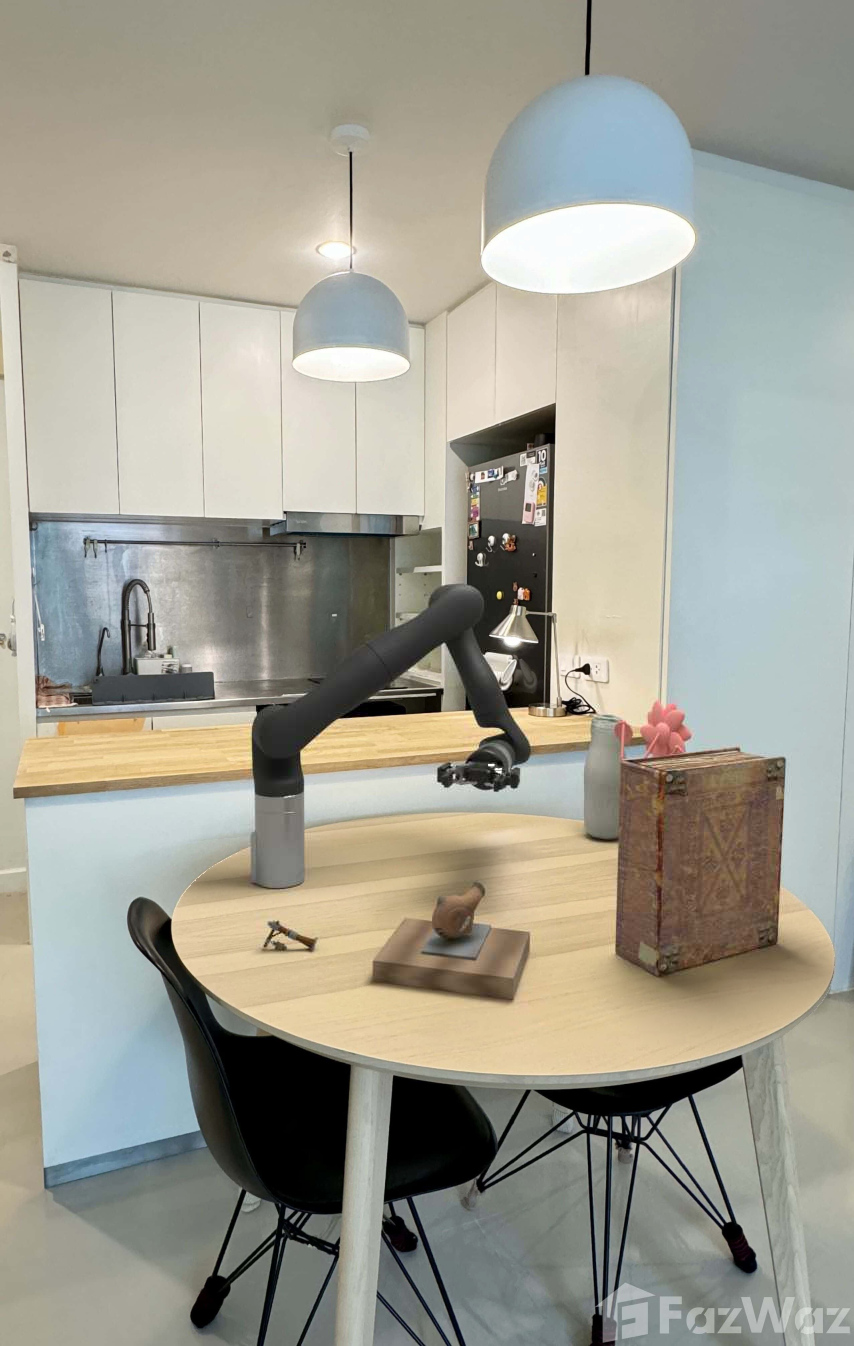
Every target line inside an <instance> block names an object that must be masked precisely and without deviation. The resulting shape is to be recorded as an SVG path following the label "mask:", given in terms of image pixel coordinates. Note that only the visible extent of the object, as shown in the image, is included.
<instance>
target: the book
mask: <svg viewBox="0 0 854 1346" xmlns="http://www.w3.org/2000/svg"><path fill="white" fill-rule="evenodd" d="M786 764H787V758H786V757H784V756H775V757H773V756H772V757H765V756H762V755H756V754H752V753H747V752H742V751H741V748H740V747H738V746H734V747H727V748H726V747H725V748H717V749H707V750H701V751H699V750H698V751H693V752H692V751H691V752H686V753H682V754H673V755H665V756H657V757H653V756H648V757H647V758H643V757H642V758H633V759H632V758H631V759H629V760H623V761H622V762H621V771H620V805H619V837H618V841H617V842H618V843H617V844H618V845H617V877H616V884H617V885H616V909H615V911H616V913H615V915H616V916H615V917H616V919H615V944H614V945H615V947H614V948H615V949H614V950H615V951H614V952H615V953H616V954H618V955H619V956H621V957H623V958H625V959H627V960H628V961H630V962H632V963H634V964H635V965H637V966H639V967H641V969H644V970H646V971H648V972H649V973H651V974H652V975H654V976H657V977H658V978H660V977H663V976H664V977H665V976H668V975H671V974H674V973H678V972H683V971H685V970H689V969H693V968H696V967H699V966H704V965H707V964H711V963H715V962H718V961H722V960H725V959H729V958H732V957H735V955H736V956H739V954H740V955H742V953H743V954H746V952H747V953H749V951H751V952H754V951H757V950H756V949H758V950H761V949H765V948H769V947H772V946H775V945H777V943H778V941H779V920H780V919H779V917H780V901H781V900H780V896H781V876H782V875H781V874H782V873H781V872H782V853H783V852H782V851H783V834H784V832H783V831H784V828H783V827H784V813H785V812H784V807H785V806H784V805H785V786H786ZM768 946H769V947H768ZM753 950H754V951H753Z"/></svg>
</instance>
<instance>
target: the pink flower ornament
mask: <svg viewBox="0 0 854 1346" xmlns="http://www.w3.org/2000/svg"><path fill="white" fill-rule="evenodd" d="M646 716H647V724H645V725H642V726H641V727H640V729H639V734H640V736H641V737H642V738H643V740H644V741H646V747H645V750H646V753H645V754H644V756H643V757H642V758H648V757H649V755H652V757H657V756H665V755H673V754H682V753H687V752H686V744H685V742H687V741H689V740H690V739H691V738H692V732H691V731H690V729H689V727H687V725H685V724H683V722H684V720H685V718H686V715H685V712H683V710H680V709H678V708H677V704H676V702H671V703H668V704H667V705H666V706H665V707H663V704H662V702H661V701H660V700H659V699H655V701H654V702H653V705H652V708H651V710H649V711H648V712H647V715H646ZM614 732H615V735H616V737H617V738H618V740H619V741H620V742H621V761H623V760H630V759H628V758H627V759H623V754H624V751H625V744H627V743H629V742H630V741H631V740H632V738H633V736H634V731H633V729H632V727H631V725H630V724H629V723H628V722H627V721H626V720H625V719H622V721H620V722H618V723H617V724H616V725H615V728H614Z"/></svg>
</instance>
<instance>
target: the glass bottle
mask: <svg viewBox="0 0 854 1346" xmlns="http://www.w3.org/2000/svg"><path fill="white" fill-rule="evenodd" d="M622 720H623V719H622V718H620V717H618V716H615V715H614V714H598V715H596V716H595V717H593V718H592V719H591V722H590V723H591V724H590V728H589V731H590V736H591V737H590V743H589V748H588V751H587V755H586V758H585V762H584V767H583V796H584V798H583V820H584V821H583V822H584V828H585V829H586V832H587V833H588V834H589V835H590V836H592V837H594V838H596V839H600V840H613V839H617V838H618V839H619V805H620V771H621V762H622V761H621V742H620V741H619V740H618V738H617V737H616V735H615V732H614V728H615V725H616V724H617V723H618V722H620V721H622ZM623 759H628V757H627V755H626V751H625V750H624V754H623Z"/></svg>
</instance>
